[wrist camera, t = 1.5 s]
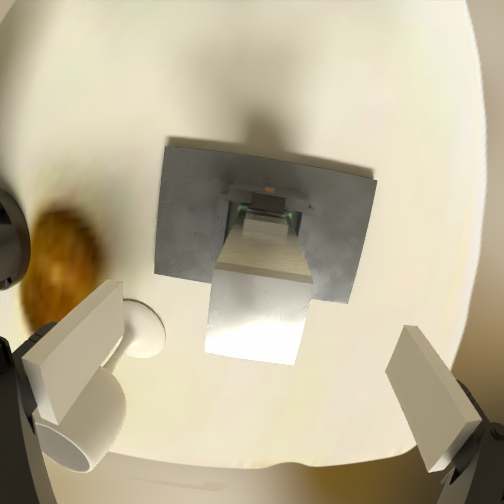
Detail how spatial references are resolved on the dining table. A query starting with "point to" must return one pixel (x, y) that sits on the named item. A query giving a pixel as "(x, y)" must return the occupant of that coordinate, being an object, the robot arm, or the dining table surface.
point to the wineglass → (100, 399)
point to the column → (259, 289)
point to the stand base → (263, 198)
